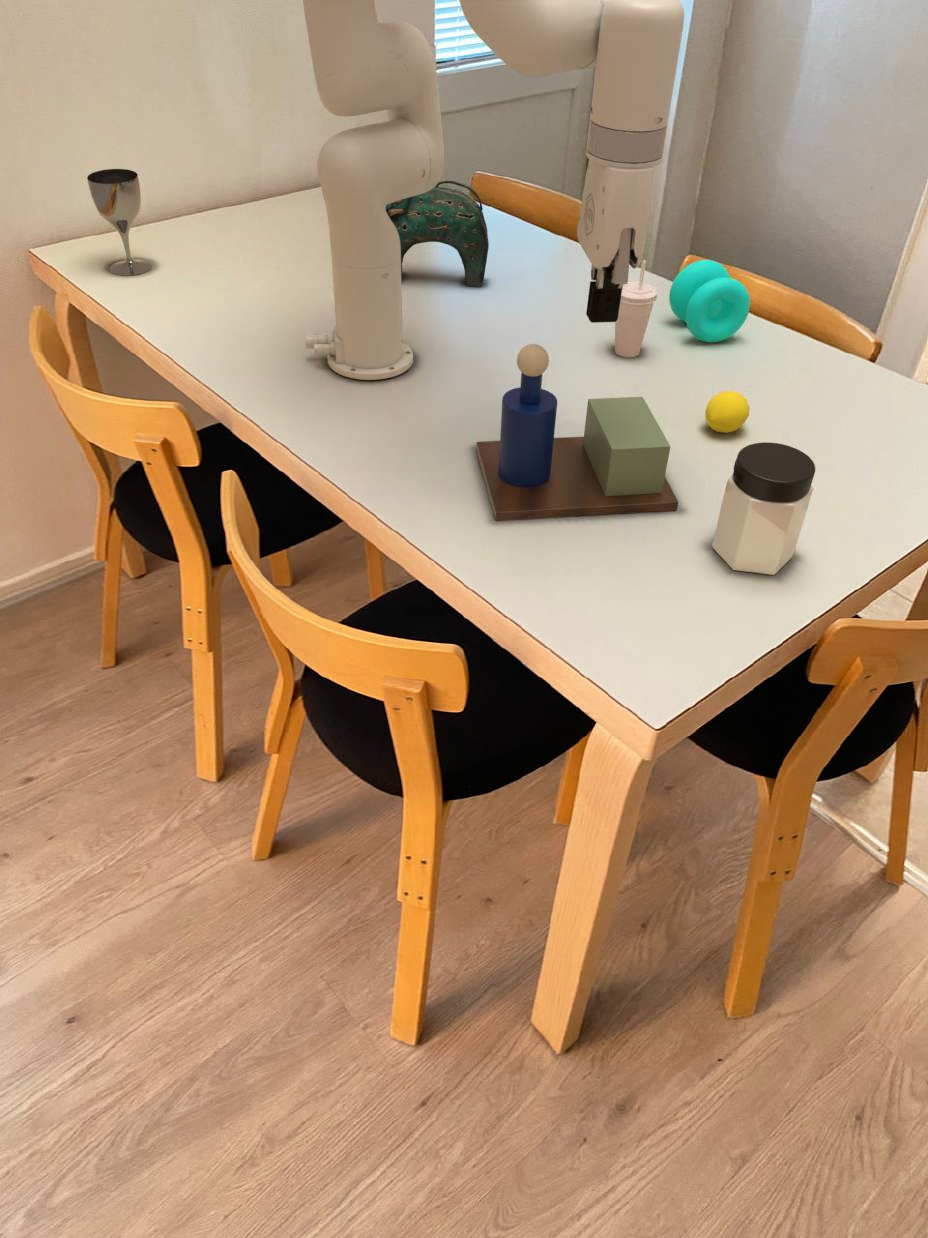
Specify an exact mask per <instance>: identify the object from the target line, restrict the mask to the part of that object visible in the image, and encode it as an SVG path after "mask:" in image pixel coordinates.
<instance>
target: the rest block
mask: <svg viewBox="0 0 928 1238" xmlns="http://www.w3.org/2000/svg"><path fill="white" fill-rule="evenodd" d="M586 406H587V407H586V415H585V422H584V423H585V424H584V431H583V437H584V439H583V446H584V448H585V450H586V453H587V455H588V457H589V460H590V462H591V464H592V467H593V469H594V471H595V474H596V476H597V478H598V480H599V483H600V485H601V487H602V490H603V492H604V494H605V496H620V495H638V494H656V493H662V489H663V484H664V478H666V472H667V468H668V467H667V466H668V463H669V457H670V453H671V445H670V443H669V441H668V439H667V438H666V435H665V434H664V432H663V430H662V428H661V427H660V425H659V422H657V420H656V418H655V416H654V414H653V412H652V411H651V408H650V407H649V404H647V402H646V400H645V398H644V397H643V396H629V397H628V396H627V397H625V396H623V397H605V398H603V397H601V398H588V399H587V405H586Z"/></svg>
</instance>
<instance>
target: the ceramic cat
mask: <svg viewBox="0 0 928 1238" xmlns="http://www.w3.org/2000/svg"><path fill="white" fill-rule="evenodd" d="M446 184H451V185H456V186H458V187H462V188H465V189H467V190H468V191H470V192H471V193H472V194H473V195H474V196H475V197H476V199H477V200H478V201H476V199H475V198H474V197H473V196H472V195H470V194H469V193H468V192H467V191H465V190H463V189H461V188H458V187H455V186H451V185H446ZM483 209H484V208H483V204H482V201H481V198H480V196H479V194H478V193H477V192H476V190H475V189H474V188H473V187H472V186H470V185H467V184H466V183H464V182H460V181H456V180H442V181H441V180H440V181H439V182H438V184H437V185H436V186H435V187H434V188H433V189H431V190H430V191H428V192H426V193H423V194H420V195H416V196H412V197H409V198H405V199H402V200H398V201H395V202H393V203H390V204H388V205H386V212H387V214H388V216H389V218H390V219H391V221H392V222H393V224H394V226H395V227H396V229H397V231H398V234H399V238H400V245H401V276H402V274H403V262H404V258H405V255H406V254H407V253H408V252H409V250H410V249H411V248H412V247H413V246H414V245H419V244H423V243H441V244H444V245H447V246H450V247H451V248H453V249H454V250H456V251H457V253H458V256H459V258H460V259H461V264H462V265H463V266H462V267H463V270H464V284H465V286H467V287H475V288H476V287H478V288H479V287H483V284H484V279H485V273H486V266H487V260H488V254H489V249H490V247H489V246H490V243H489V242H490V241H489V234H488V226H487V223H486V220H485V215H484V212H483Z"/></svg>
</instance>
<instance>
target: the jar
mask: <svg viewBox="0 0 928 1238" xmlns="http://www.w3.org/2000/svg"><path fill="white" fill-rule="evenodd" d="M733 464H734V465H733V472H732V474H731V475H730V476H729V477H728V478H727V481H726V485H725V489H724V490H725V491H724V494H723V499H722V502H721V506H720V510H719V515H718V519H717V524H716V526H715V531H714V537H713V540H712V545H711V547H712V549H713V550H714V551H715V552H716V554H718V555H719V557H720V558H721V559H722V560H723V561H724V562H725V563H726V564H727V565H728V566H729V567H730V568H731V569H732V570H733V571H740V572H746V573H754V574H755V573H756V574H763V575H771V576H774V575H776V574H777V573H778V572H779V571H780V570H781V569H782V568H783V567H784V566H785V565H786V564H787V563H788V562H789V561H790V560H791V559H792V557H793V556H794V553H795V550H796V546H797V543H798V540H799V537H800V534H801V530H802V527H803V524H804V521H805V517H806V514H807V511H808V508H809V504H810V502H811V497H812V495H813V491H814V487H813V486H812V484H813V481H814V477H815V474H816V465H815V462H814V461H813V459H812V458H811V457H810V456H809V455H808V454H806V453H805V452H803V451H801V450H799V449H798V448H795V447H793V446H790V445H787V444H783V443H777V442H769V441H768V442H766V441H765V442H764V441H763V442H756V443H752V444H748V445H746V446H744V447H743V448H741V449H740V450H739V451H738V453H737V455H736V458H735V460H734V463H733Z"/></svg>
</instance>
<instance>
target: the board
mask: <svg viewBox="0 0 928 1238" xmlns="http://www.w3.org/2000/svg"><path fill="white" fill-rule="evenodd" d="M583 439H584V436H569V437H566V436H565V437H554V443H553V453H552V463H551V473H550V478H549V479H548V481H546V482H545V483H544V484H542V485H539V486H535V487H518V486H514V485H511V484H508V483H506V482H505V481H503V480H502V479H501V478H500V476H499V473H498V469H499V451H500V440H483V441H476V443H475V450H476V454H477V457H478V462H479V464H480V465H479V466H480V468H481V472H482V475H483V479H484V484H485V487H486V490H487V494H488V498H489V502H490V505H491V510H492V512H493V517H494V519H495V521H497V522H498V521H513V520H532V519H549V518H566V517H567V518H569V517H582V516H599V515H600V516H601V515H616V514H617V515H618V514H634V513H635V514H636V513H652V512H653V513H655V512H669V511H670V512H671V511H677V510H678V507H679V500H678V499H677V497H676V495H675V493H674V491H673V489H672V487H671V485H670V483H669V482H668V480H667V478H666V477H665V478H664V484H663V489H662V493H656V494H638V495H620V496H605V494H604V492H603V490H602V487H601V485H600V483H599V480H598V478H597V476H596V474H595V471H594V469H593V467H592V464H591V462H590V460H589V457H588V455H587V453H586V450H585V448H584V446H583Z"/></svg>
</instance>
